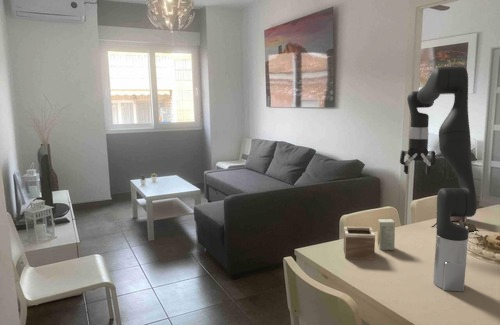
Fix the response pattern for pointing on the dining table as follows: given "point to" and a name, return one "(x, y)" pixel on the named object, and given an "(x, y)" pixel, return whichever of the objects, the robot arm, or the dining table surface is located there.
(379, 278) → the dining table surface
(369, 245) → the slot box
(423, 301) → the dining table surface
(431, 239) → the dining table surface
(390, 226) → the skincare box
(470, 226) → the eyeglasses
